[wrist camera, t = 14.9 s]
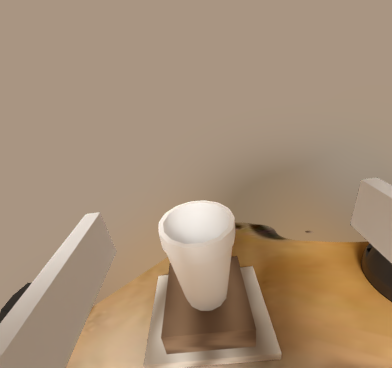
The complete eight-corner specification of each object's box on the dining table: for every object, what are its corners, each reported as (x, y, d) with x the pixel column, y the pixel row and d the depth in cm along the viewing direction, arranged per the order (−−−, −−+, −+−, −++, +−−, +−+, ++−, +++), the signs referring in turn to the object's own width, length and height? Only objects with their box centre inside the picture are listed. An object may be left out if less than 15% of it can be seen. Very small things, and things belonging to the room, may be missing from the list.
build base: (252, 271, 40) (252, 250, 37) (280, 359, 27) (283, 335, 25) (160, 281, 41) (154, 260, 38) (145, 370, 28) (135, 348, 26)
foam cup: (186, 262, 37) (174, 199, 31) (240, 269, 34) (237, 201, 28) (166, 315, 29) (144, 243, 23) (233, 330, 26) (228, 252, 20)
